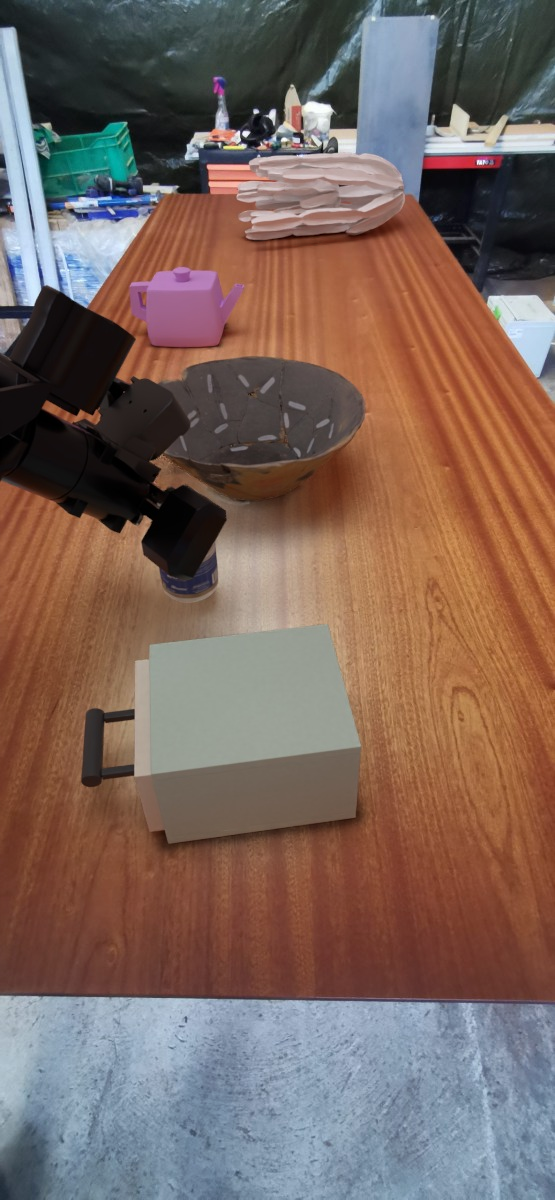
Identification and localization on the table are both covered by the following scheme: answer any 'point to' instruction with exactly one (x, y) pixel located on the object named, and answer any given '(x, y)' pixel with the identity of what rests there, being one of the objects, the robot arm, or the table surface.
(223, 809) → the cabinet
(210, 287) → the teapot
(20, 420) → the robot arm
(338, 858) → the table surface
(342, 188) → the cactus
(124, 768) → the drawer
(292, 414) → the bowl
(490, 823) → the table surface
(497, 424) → the table surface
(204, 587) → the pill bottle
